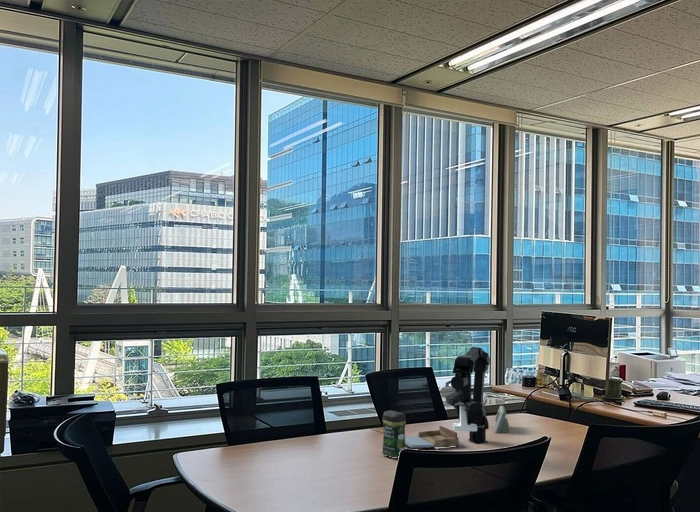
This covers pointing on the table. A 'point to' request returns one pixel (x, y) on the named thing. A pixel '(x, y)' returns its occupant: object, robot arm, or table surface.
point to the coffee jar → (393, 433)
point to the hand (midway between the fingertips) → (464, 423)
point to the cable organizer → (463, 422)
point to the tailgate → (417, 442)
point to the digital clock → (501, 421)
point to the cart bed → (440, 437)
